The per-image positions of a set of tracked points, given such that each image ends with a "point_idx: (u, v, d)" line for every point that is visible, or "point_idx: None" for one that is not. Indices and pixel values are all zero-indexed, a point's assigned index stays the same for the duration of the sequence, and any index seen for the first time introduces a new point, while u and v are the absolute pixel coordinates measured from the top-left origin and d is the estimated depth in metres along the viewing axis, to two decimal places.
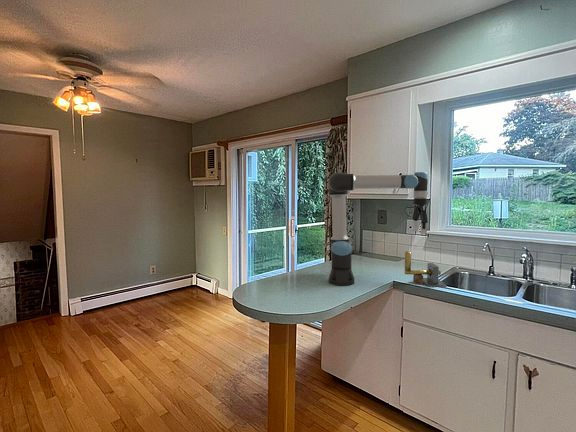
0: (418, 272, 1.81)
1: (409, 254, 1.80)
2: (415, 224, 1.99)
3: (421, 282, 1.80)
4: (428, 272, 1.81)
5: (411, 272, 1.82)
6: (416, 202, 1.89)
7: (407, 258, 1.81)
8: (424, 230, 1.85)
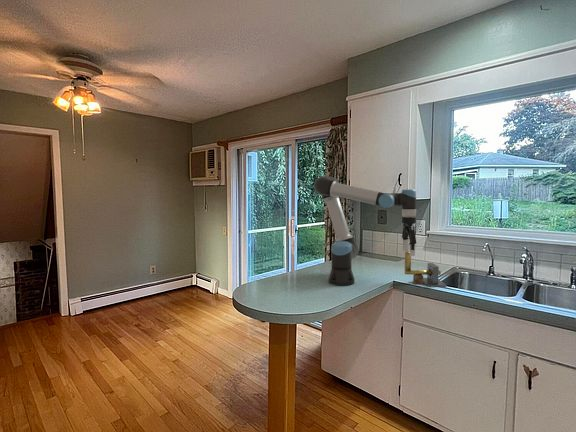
0: (418, 272, 1.81)
1: None
2: (404, 243, 1.88)
3: (421, 282, 1.80)
4: (428, 272, 1.81)
5: (411, 272, 1.82)
6: (404, 221, 1.78)
7: (407, 258, 1.81)
8: (413, 251, 1.75)
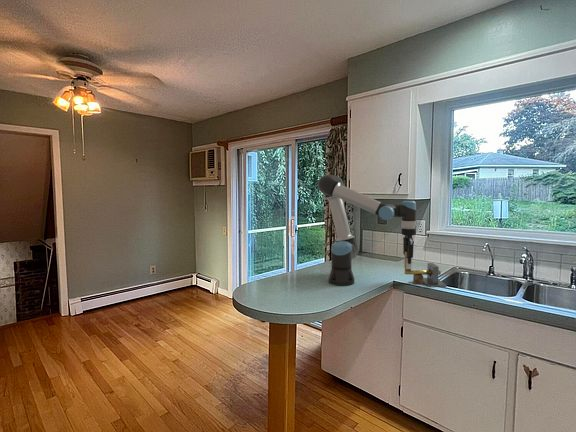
0: (418, 272, 1.81)
1: None
2: None
3: (421, 282, 1.80)
4: (428, 272, 1.81)
5: (411, 272, 1.82)
6: (404, 233, 1.79)
7: None
8: (410, 265, 1.80)
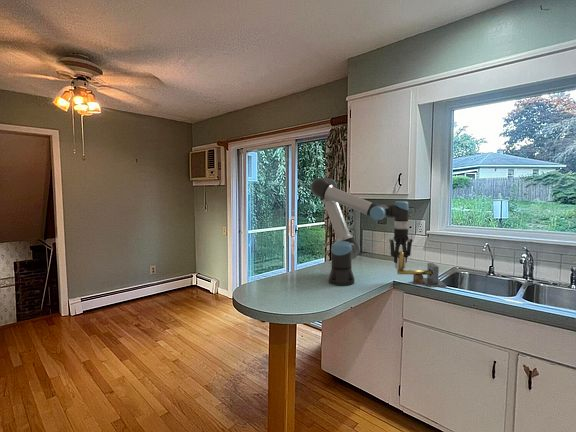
0: (411, 272, 1.82)
1: (402, 254, 1.81)
2: None
3: (421, 282, 1.80)
4: (421, 272, 1.81)
5: (404, 272, 1.82)
6: None
7: (400, 258, 1.81)
8: (396, 264, 1.82)
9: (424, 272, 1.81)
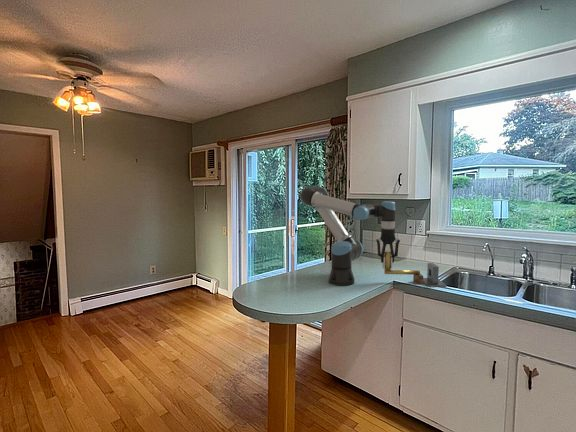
0: (397, 272, 1.83)
1: (388, 254, 1.82)
2: None
3: (421, 282, 1.80)
4: (407, 272, 1.82)
5: (391, 272, 1.83)
6: None
7: (386, 258, 1.82)
8: (383, 264, 1.84)
9: (411, 272, 1.82)
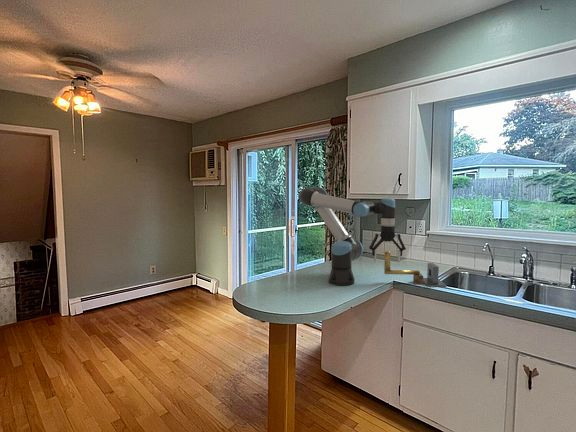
0: (397, 272, 1.83)
1: (388, 254, 1.82)
2: (398, 254, 1.83)
3: (421, 282, 1.80)
4: (407, 272, 1.82)
5: (390, 272, 1.83)
6: None
7: (386, 258, 1.82)
8: (374, 257, 1.84)
9: (411, 272, 1.82)
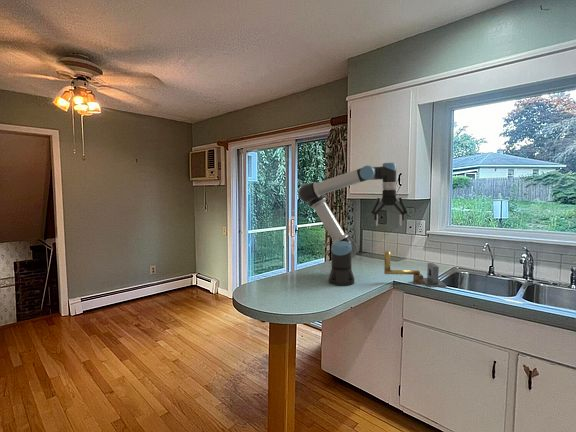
0: (397, 272, 1.83)
1: (388, 254, 1.82)
2: (399, 218, 1.86)
3: (421, 282, 1.80)
4: (407, 272, 1.82)
5: (390, 272, 1.83)
6: None
7: (386, 258, 1.82)
8: (376, 221, 1.86)
9: (411, 272, 1.82)
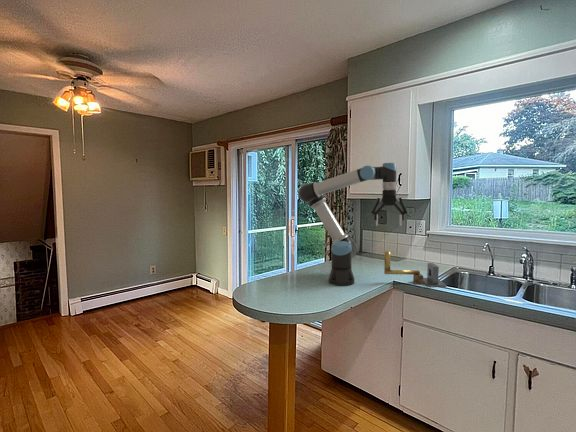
0: (397, 272, 1.83)
1: (388, 254, 1.82)
2: (399, 218, 1.86)
3: (421, 282, 1.80)
4: (407, 272, 1.82)
5: (390, 272, 1.83)
6: None
7: (386, 258, 1.82)
8: (376, 221, 1.86)
9: (411, 272, 1.82)
